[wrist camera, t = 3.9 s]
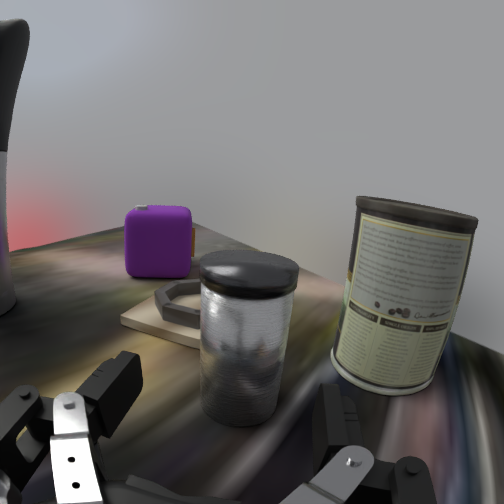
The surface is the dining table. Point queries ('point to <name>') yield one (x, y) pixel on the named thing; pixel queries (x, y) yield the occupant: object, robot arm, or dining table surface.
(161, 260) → the toy camera
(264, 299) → the black lidded glass jar
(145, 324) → the beige board with ring
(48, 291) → the dining table surface
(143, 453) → the dining table surface
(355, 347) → the coffee can
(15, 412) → the robot arm
